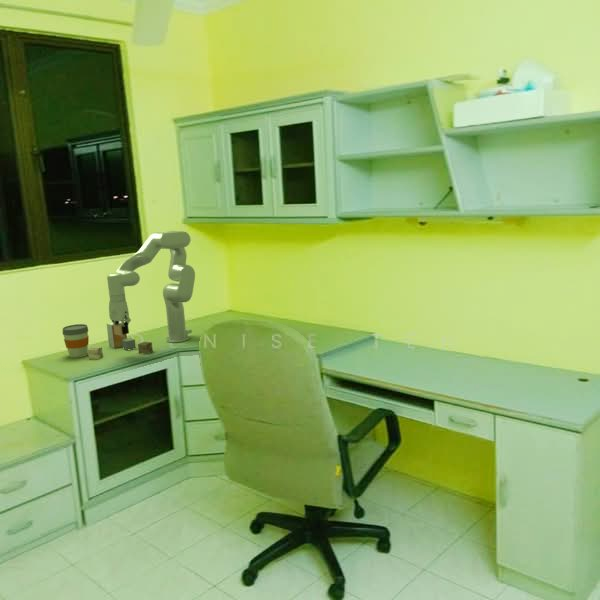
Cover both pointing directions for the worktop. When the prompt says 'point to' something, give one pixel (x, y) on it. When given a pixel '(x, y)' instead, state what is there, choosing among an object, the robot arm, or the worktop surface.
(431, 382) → the worktop surface
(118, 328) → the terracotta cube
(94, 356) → the pale oak cube
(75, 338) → the reusable coffee cup
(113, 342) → the small box
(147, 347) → the walnut cube
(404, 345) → the worktop surface
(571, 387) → the worktop surface
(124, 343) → the slate grey cube
